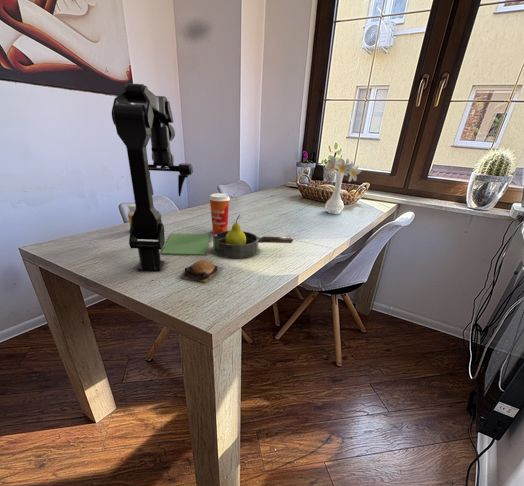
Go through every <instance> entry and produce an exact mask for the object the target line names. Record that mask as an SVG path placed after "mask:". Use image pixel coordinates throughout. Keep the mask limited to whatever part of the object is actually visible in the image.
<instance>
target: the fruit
mask: <svg viewBox="0 0 524 486" xmlns="http://www.w3.org/2000/svg"><path fill="white" fill-rule="evenodd" d="M240 217H241V215H240V214H239V215H238V216H237V217H236V221H235V223H233V224H232V226H231V229H230V230H228V231H229V232H228V233H227V234H226V244H231V245H245V244H246V236H245V234H244V233H243V232H242V229H241V226H240V224H239V223H238V219H239V218H240Z"/></svg>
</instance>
